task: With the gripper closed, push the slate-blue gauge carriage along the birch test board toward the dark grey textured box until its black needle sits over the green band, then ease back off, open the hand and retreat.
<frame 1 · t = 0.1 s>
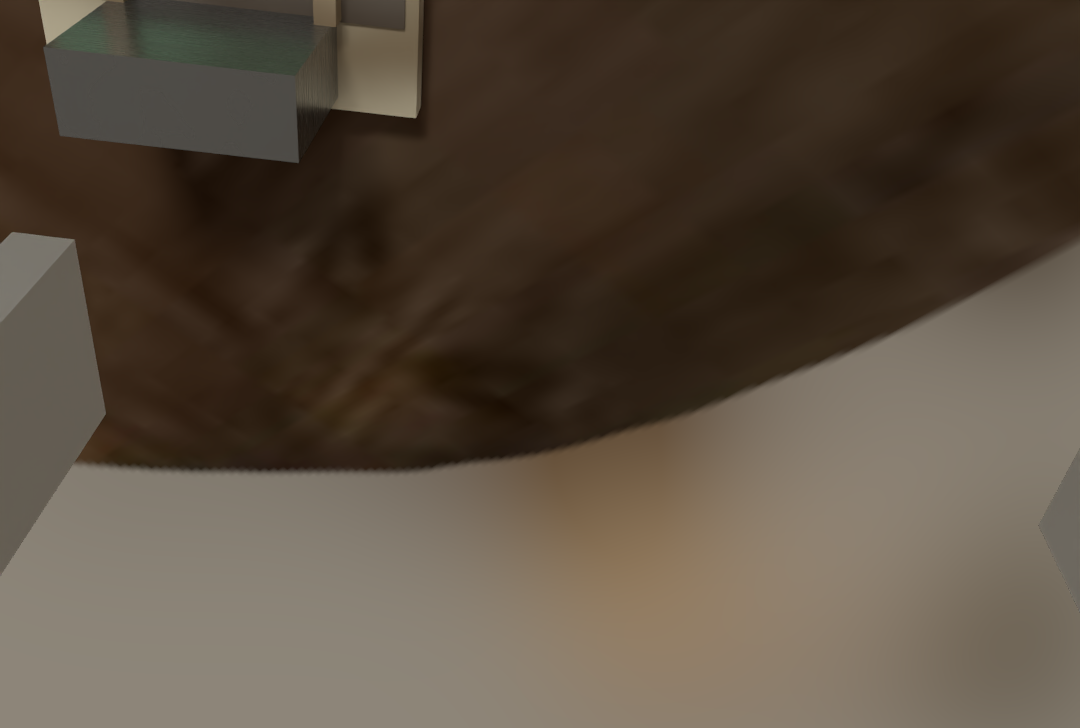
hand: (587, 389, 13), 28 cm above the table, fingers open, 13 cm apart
dark grey textured box: (240, 35, 39), resting on board
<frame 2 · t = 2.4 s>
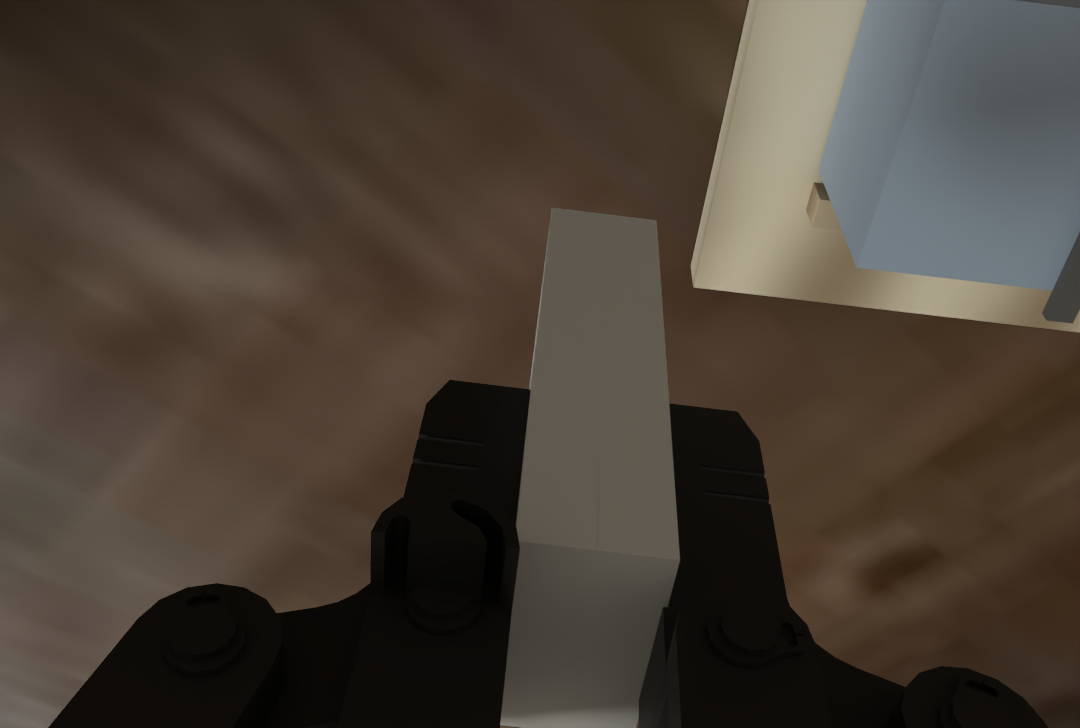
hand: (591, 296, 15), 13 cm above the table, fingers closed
carriage: (984, 111, 23), point 4 cm above the table, slide at 0.0 cm
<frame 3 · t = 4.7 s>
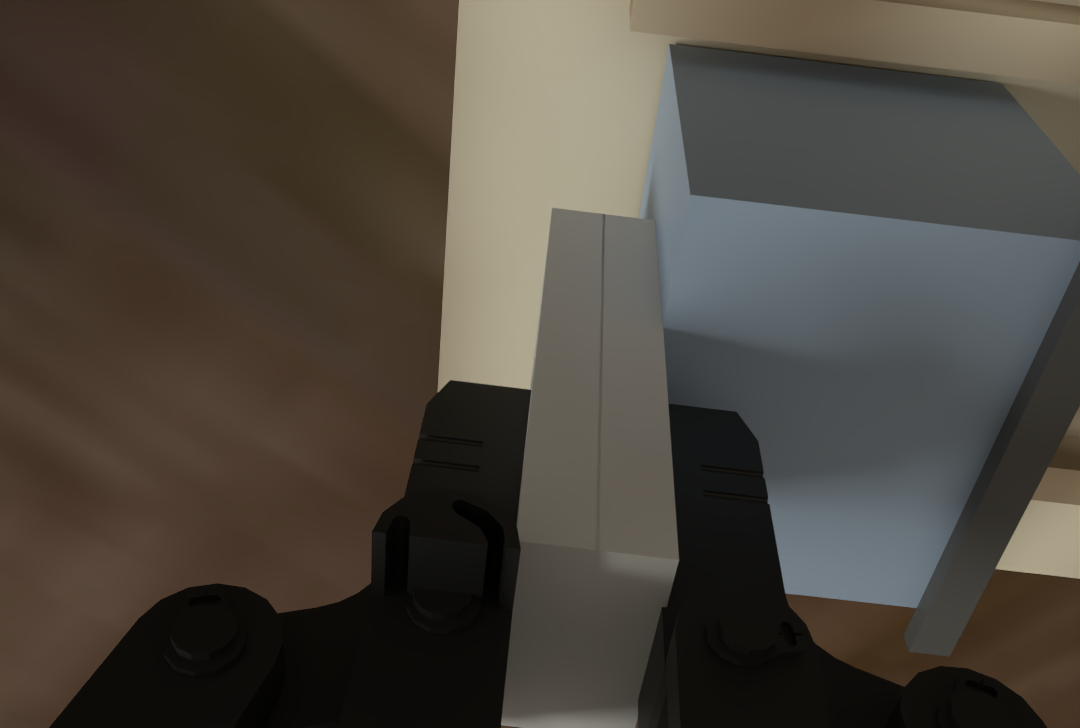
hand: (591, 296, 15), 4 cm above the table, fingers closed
board: (1076, 240, 18), on the table
carriage: (812, 329, 15), point 4 cm above the table, slide at 0.7 cm, touching gripper
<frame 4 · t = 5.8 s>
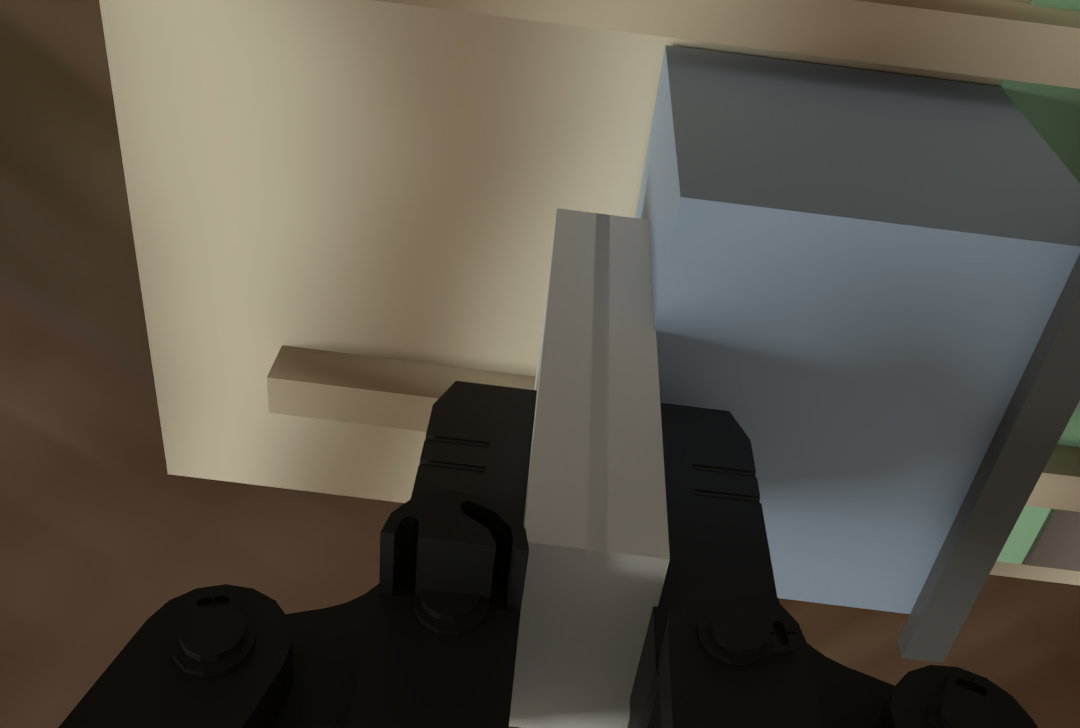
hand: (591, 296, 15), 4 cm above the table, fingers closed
board: (774, 207, 18), on the table
carriage: (807, 332, 15), point 4 cm above the table, slide at 6.0 cm, touching board, gripper
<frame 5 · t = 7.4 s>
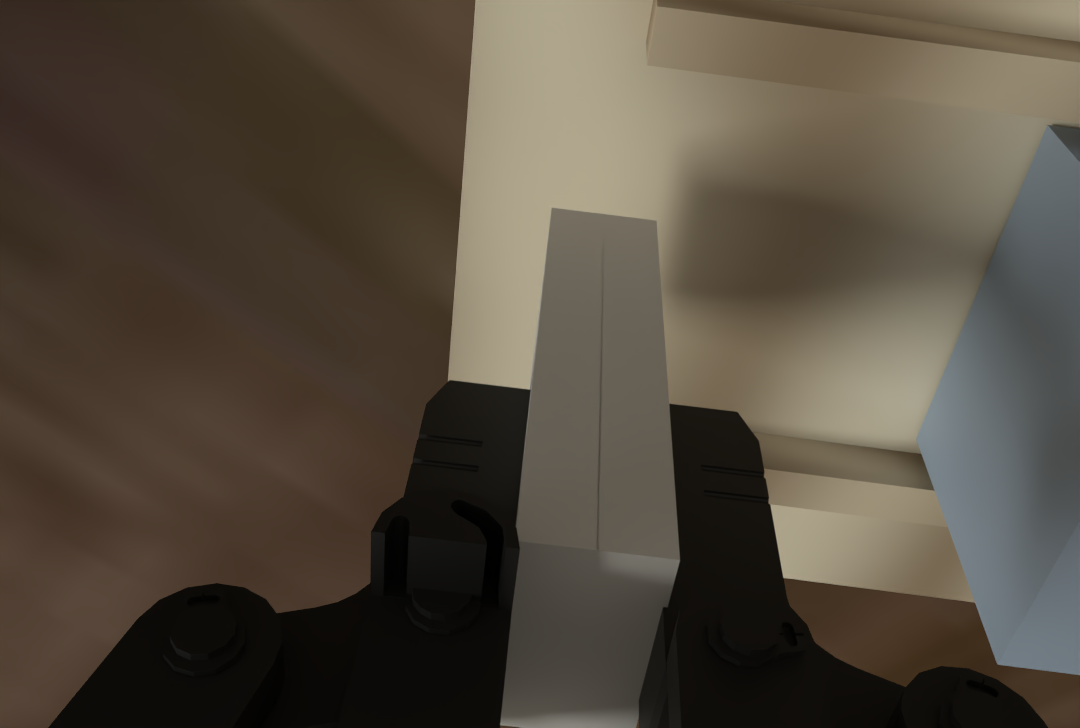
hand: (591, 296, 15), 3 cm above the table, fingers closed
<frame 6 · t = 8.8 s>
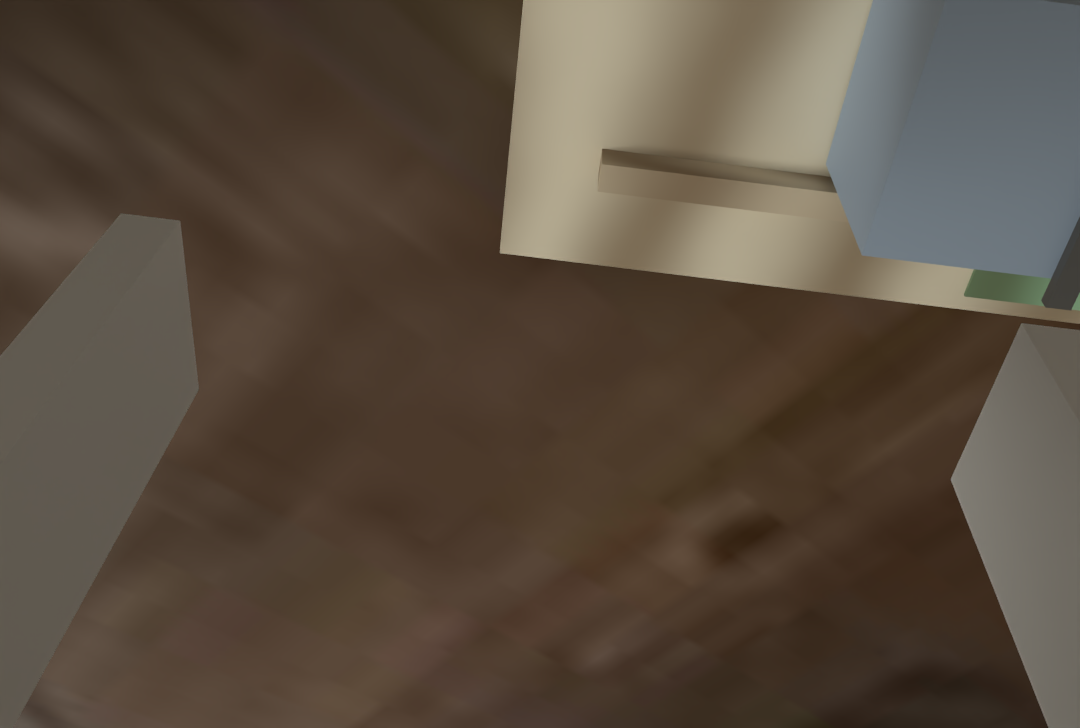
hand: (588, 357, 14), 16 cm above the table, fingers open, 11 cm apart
board: (942, 49, 27), on the table
carriage: (986, 105, 24), point 4 cm above the table, slide at 6.0 cm, touching board
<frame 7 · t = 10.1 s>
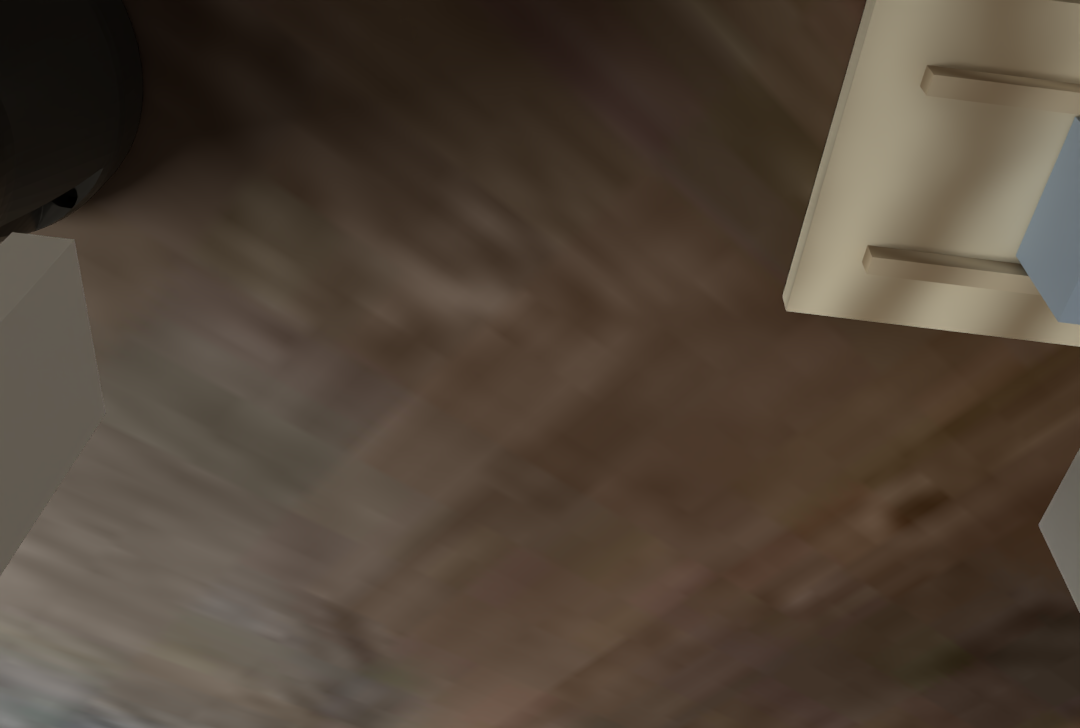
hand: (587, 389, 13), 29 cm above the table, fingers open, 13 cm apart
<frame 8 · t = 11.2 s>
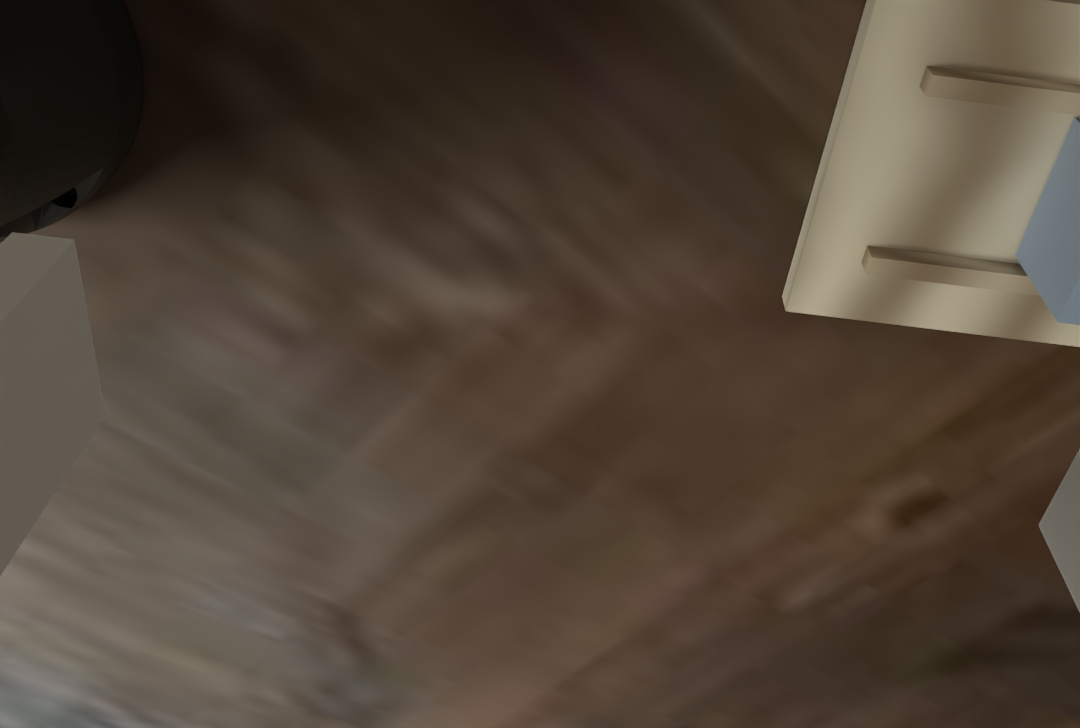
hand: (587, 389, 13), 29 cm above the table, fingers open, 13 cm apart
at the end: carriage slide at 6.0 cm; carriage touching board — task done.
